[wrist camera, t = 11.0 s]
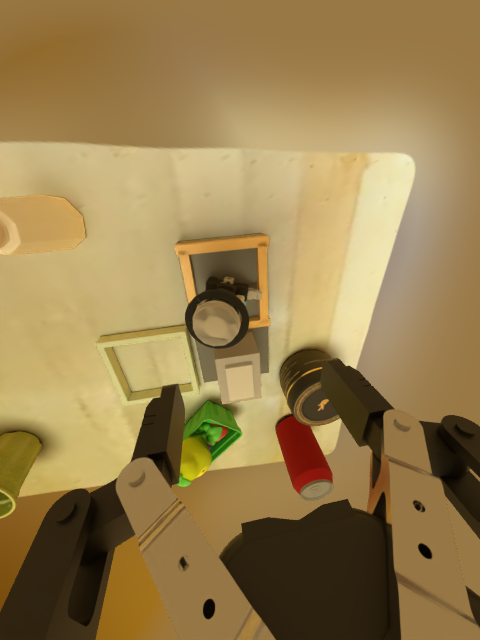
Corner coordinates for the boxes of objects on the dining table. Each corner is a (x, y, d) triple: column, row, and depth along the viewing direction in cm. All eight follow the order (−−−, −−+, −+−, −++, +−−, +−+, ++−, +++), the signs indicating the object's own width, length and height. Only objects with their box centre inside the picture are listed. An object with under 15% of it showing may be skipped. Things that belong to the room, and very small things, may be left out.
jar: (270, 390, 39) (284, 428, 32) (284, 343, 35) (303, 376, 28) (320, 391, 41) (343, 427, 34) (339, 347, 37) (369, 379, 30)
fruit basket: (204, 443, 43) (204, 513, 33) (164, 429, 40) (150, 502, 30) (240, 408, 40) (251, 474, 30) (200, 389, 37) (198, 456, 27)
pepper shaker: (67, 187, 22) (-41, 170, 12) (97, 241, 25) (27, 264, 15) (15, 201, 22) (-135, 196, 12) (50, 255, 24) (-51, 285, 15)
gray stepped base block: (204, 372, 35) (204, 421, 27) (178, 241, 26) (166, 256, 18) (264, 363, 36) (281, 407, 28) (261, 233, 27) (285, 243, 19)
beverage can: (281, 439, 46) (304, 508, 36) (269, 422, 43) (290, 492, 32) (310, 426, 45) (342, 492, 35) (300, 407, 42) (331, 474, 32)
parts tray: (127, 397, 35) (124, 405, 34) (100, 336, 30) (95, 343, 28) (199, 385, 36) (199, 393, 35) (186, 325, 31) (185, 331, 29)
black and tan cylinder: (265, 271, 25) (271, 302, 16) (258, 313, 27) (260, 361, 18) (207, 263, 25) (181, 290, 16) (205, 306, 27) (181, 350, 18)
